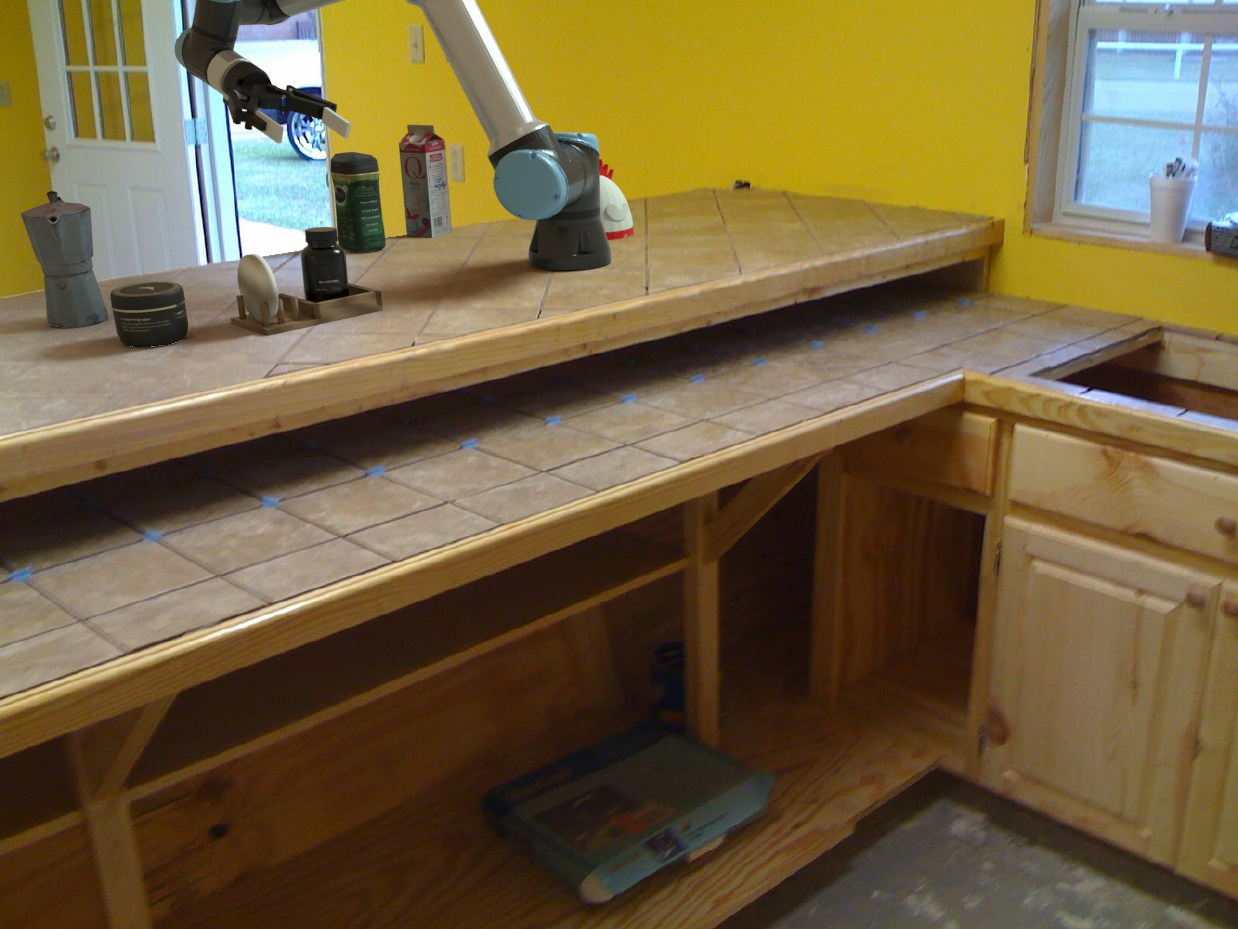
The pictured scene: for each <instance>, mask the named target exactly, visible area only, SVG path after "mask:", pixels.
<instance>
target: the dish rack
mask: <svg viewBox="0 0 1238 929" xmlns="http://www.w3.org/2000/svg"><path fill="white" fill-rule="evenodd" d="M237 284H238V286H237V287H238V290H239V291H238V292H239V295H236V303H237V304H236V305H237V310H238V316H233V317H230V324H233V325H236V326H239V327H242V328H245V329H248V330H250V331H254V332H255V333H261V334H263V335H266V336H271V335H277V334H280V333H285V332H289V331H294V330H299V329H303V328H307V327H312V326H313V327H314V326H317V325H321V324H325V323H329V322H335V321H339V320H343V319H347V318H353V317H358V316H363V315H366V314H371V313H376V312H379V311H384V310H383V309H384V308H383V299H382V291H381V290H379V289H373V288H370V287H365V286H362V285H359V284H355V283H349V282H348V285H349V296H347V297H342V298H338V299H333V300H328V301H323V302H318V303H314V302H311V301H307V300H305V298H304V299H303V298H299V297H298V296H296V295H295V296H294V295H293V296H292V295H289V294H285V293H279V291H278V285H277V281H276V278H275V274H274V273H273V270H272V269H271V267H270V265H269V263H268V262H267V261H266V260H265V258H263V257H262V256H261V255H259V254H257V253H250V254H246V255H244V256H242V257H241V259H240V260H239V263H238V266H237ZM246 311H247V312H248V314H247V313H246Z"/></svg>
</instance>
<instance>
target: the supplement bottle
mask: <svg viewBox="0 0 1238 929" xmlns="http://www.w3.org/2000/svg"><path fill="white" fill-rule="evenodd" d="M304 236H305V239H304V240H305V243H306V244H307V245H306V246H304V247H303V249H302V250H301V252H300V262H301V263H300V264H301V273H302V282H303V291H304V292H303V293H304V300H307V301H311V302H314V303H318V302H323V301H328V300H333V299H338V298H342V297H347V296H349V285H348V283H349V277H348V276H349V275H348V265H347V254H346V250H344V249H343V248H342V247H341V246H340V245H339V244H338V232H337V227H334V226H333V227H332V226H317V227H309V228H306V229H305V230H304Z"/></svg>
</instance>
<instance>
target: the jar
mask: <svg viewBox="0 0 1238 929" xmlns="http://www.w3.org/2000/svg"><path fill="white" fill-rule="evenodd" d="M109 296H110V297H109V298H110V303H111V304H110V308H111V309H112V313H113V320H114V325H115V330H116V334H117V336H118V337H119V338H118V339H119V340H120V341H121V343H122V344H123V345H124V344H125V345H124V346H126V345H127V346H126V347H128V346H131V347H130V348H133V347H151V346H159V345H166V346H169V345H168V344H171V345H173V344H172V343H175V342H178V341H180V340H182V339H184V340H185V339H186V337H187V336H188V331H189V319H188V312H187V307H186V302H187V299H186V297H185V291H184V287H183V285H181V284H179V283H177V282H172V281H150V282H149V281H147V282H146V281H145V282H138V283H137V282H136V283H131V284H127V285H122V286H119V287H116V288H115V289H113V290H112V291H111V292H110V295H109ZM182 341H183V340H182ZM180 342H181V341H180ZM178 343H179V342H178ZM175 344H176V343H175ZM132 346H133V347H132Z"/></svg>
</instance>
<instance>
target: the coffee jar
mask: <svg viewBox="0 0 1238 929" xmlns="http://www.w3.org/2000/svg"><path fill="white" fill-rule="evenodd" d="M330 176H331V180H332V184H333V190H334V199H335V200H334V201H335V211H336V212H335V213H336V214H335V215H336V229H337V237H338V241H337V244H338V245H340V246H341V247H342V248H343V249H344V250H345V251H349V252H353V253H358V252H367V253H372V252H377V251H378V250H381V249H385V247H386V246H387V245H386V244H387V242H386V233H385V226H384V220H383V219H384V218H383V211H382V203H381V193H380V168H379V162H378V159H377V158H376V157H375V156H373V155H372V154H367V153H364V152H363V153H362V152H356V151H348V152H347V151H346V152H340V153H335V154H334V155H333V156H332V157H331V158H330Z"/></svg>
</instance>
